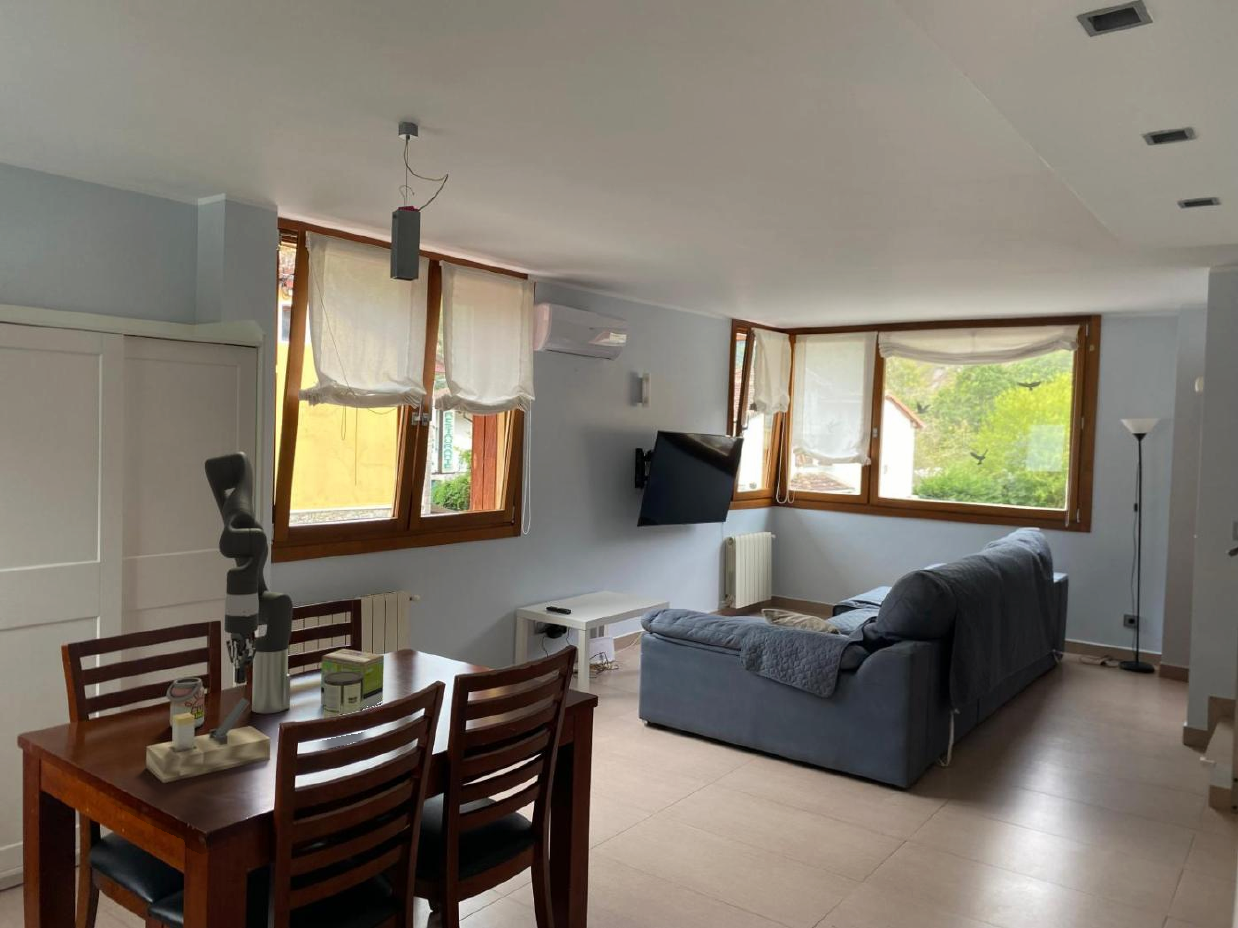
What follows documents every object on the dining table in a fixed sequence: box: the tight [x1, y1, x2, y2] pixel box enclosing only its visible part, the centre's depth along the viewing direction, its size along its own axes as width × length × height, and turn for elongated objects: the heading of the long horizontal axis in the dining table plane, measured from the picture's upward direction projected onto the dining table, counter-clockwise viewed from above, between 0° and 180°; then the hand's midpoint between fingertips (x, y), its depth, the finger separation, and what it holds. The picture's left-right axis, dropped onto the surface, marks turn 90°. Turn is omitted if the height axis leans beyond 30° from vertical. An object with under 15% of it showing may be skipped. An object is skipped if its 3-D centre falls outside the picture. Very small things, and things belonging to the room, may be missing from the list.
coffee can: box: [323, 672, 364, 719], centre depth 242 cm, size 10×10×14 cm
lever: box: [212, 697, 251, 741], centre depth 217 cm, size 11×4×1 cm
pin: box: [171, 713, 195, 753], centre depth 210 cm, size 4×4×12 cm
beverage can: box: [165, 677, 205, 729], centre depth 240 cm, size 9×8×12 cm
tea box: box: [320, 648, 385, 709], centre depth 263 cm, size 15×10×15 cm, turn 68°
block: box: [145, 725, 271, 784], centre depth 214 cm, size 24×12×7 cm, turn 134°
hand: (240, 682), depth 218 cm, fingers closed
